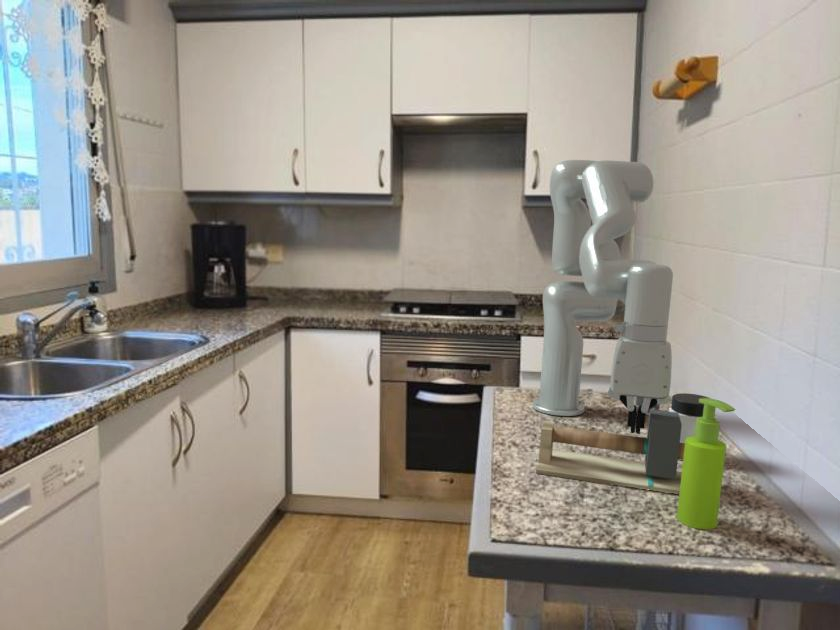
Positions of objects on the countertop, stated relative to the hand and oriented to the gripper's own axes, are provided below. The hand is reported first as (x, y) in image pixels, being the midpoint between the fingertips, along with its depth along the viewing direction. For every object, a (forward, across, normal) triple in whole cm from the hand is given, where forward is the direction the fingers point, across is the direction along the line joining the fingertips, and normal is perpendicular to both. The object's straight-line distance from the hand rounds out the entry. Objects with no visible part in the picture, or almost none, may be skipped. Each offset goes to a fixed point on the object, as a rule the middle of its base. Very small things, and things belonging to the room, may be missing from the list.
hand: (635, 431), depth 122 cm
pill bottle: (+9, +4, +45) cm, 46 cm away
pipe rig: (+9, -2, 0) cm, 9 cm away
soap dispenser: (+9, +10, -16) cm, 21 cm away
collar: (+7, +5, 0) cm, 8 cm away
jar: (+9, +11, +16) cm, 21 cm away
